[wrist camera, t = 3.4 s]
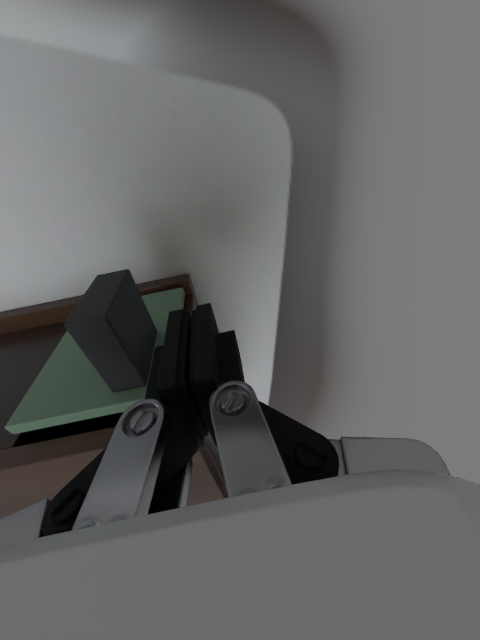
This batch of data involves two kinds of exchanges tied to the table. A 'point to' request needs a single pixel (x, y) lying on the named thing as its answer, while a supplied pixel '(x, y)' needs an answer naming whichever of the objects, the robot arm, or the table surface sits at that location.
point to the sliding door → (99, 355)
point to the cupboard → (76, 437)
